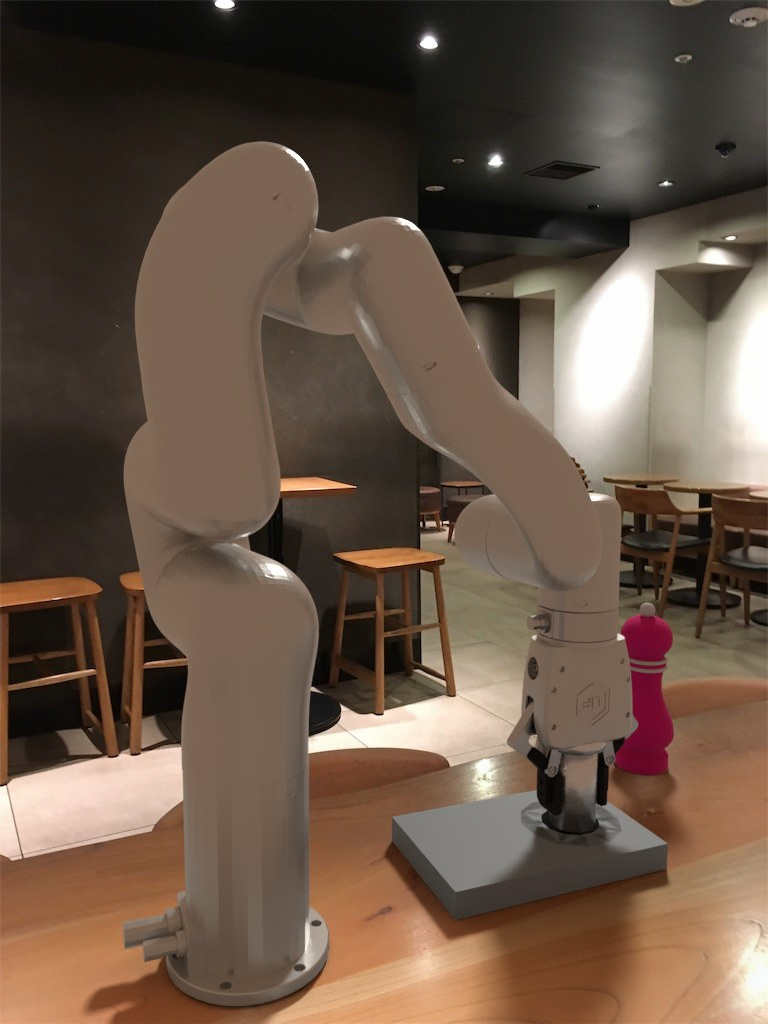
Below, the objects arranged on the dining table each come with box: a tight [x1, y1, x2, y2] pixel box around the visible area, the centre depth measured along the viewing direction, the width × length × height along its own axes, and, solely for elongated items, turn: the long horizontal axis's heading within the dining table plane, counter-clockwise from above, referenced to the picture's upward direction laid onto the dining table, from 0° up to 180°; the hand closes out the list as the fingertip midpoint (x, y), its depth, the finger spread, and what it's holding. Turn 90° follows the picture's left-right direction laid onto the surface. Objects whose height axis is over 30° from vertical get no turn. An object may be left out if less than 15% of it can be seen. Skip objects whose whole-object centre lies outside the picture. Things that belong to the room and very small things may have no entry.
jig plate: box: [391, 789, 669, 921], centre depth 80 cm, size 22×14×2 cm, turn 112°
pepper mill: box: [614, 602, 675, 776], centre depth 100 cm, size 7×7×20 cm
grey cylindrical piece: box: [549, 741, 606, 834], centre depth 82 cm, size 6×6×9 cm
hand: (572, 802), depth 82 cm, fingers closed on grey cylindrical piece, 4 cm apart
